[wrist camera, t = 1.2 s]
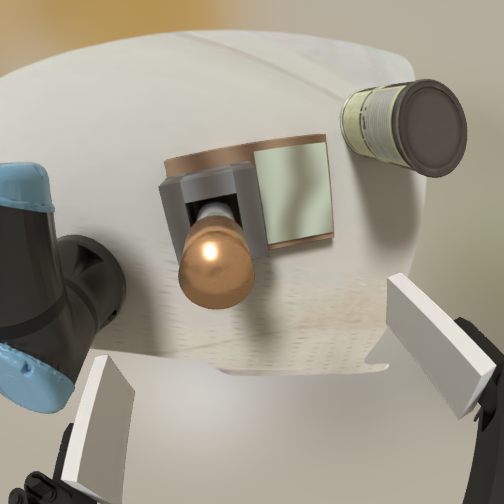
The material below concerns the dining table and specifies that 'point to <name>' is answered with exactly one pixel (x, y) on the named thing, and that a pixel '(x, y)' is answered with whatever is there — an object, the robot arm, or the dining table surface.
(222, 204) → the peg
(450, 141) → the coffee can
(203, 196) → the board
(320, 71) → the dining table surface
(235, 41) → the dining table surface
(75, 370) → the robot arm
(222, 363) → the dining table surface
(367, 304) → the dining table surface
